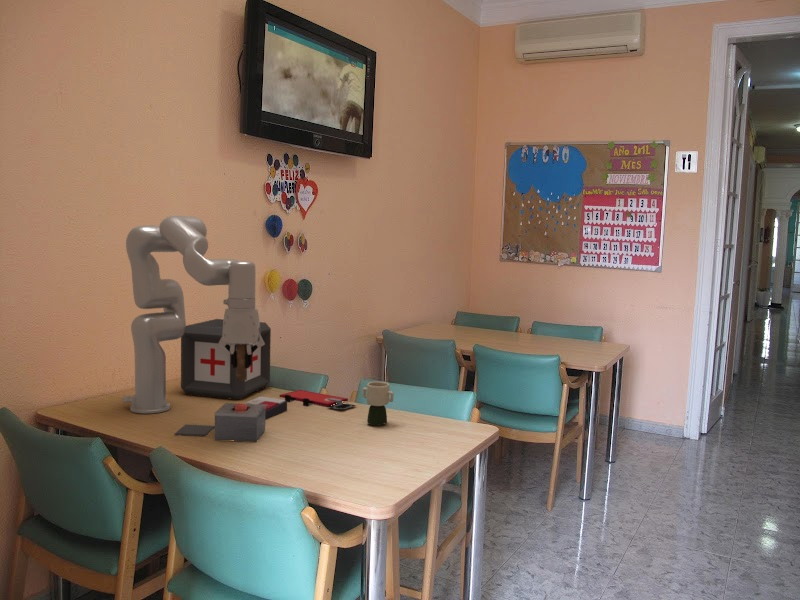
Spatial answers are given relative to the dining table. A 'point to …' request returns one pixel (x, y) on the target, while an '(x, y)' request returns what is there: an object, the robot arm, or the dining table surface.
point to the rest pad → (194, 430)
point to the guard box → (240, 422)
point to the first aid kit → (220, 363)
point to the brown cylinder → (241, 362)
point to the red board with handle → (316, 399)
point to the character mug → (377, 401)
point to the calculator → (270, 405)
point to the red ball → (240, 407)
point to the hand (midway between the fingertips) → (241, 366)
